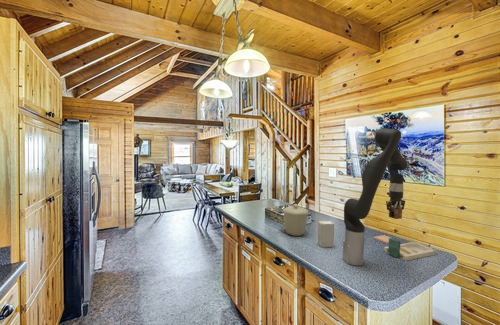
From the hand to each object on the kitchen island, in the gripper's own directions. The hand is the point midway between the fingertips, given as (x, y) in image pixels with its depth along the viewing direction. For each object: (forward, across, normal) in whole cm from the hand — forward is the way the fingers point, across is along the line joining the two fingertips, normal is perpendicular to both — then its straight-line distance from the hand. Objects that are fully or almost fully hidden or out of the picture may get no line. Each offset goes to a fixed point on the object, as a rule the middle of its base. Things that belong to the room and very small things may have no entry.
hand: (395, 216), depth 141 cm
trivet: (+18, 0, +6) cm, 19 cm away
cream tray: (+18, -2, -12) cm, 22 cm away
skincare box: (+18, -45, +10) cm, 49 cm away
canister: (+17, -53, +34) cm, 65 cm away
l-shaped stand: (+17, -9, -12) cm, 23 cm away
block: (+1, 0, 0) cm, 1 cm away
